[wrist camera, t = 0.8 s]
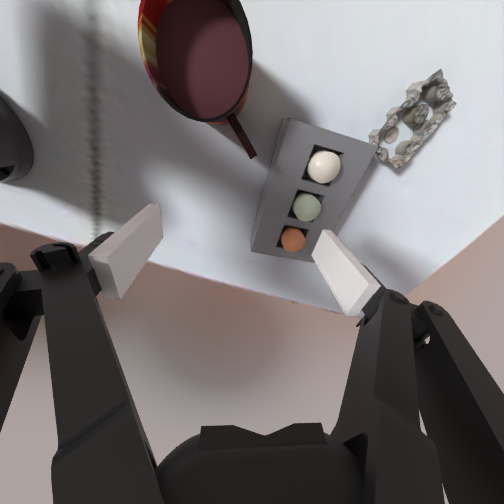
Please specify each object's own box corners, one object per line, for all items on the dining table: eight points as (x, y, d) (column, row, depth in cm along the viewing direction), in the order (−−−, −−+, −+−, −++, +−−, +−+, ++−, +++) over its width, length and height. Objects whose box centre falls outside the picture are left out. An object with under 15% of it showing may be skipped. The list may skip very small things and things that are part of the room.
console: (250, 239, 40) (251, 251, 36) (282, 119, 29) (290, 117, 24) (308, 249, 43) (315, 262, 39) (360, 144, 31) (378, 146, 27)
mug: (250, 153, 31) (255, 164, 21) (169, 97, 26) (126, 77, 16) (284, 89, 27) (311, 66, 17) (194, 9, 22) (157, -90, 12)
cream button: (301, 175, 30) (307, 179, 28) (311, 146, 28) (319, 148, 25) (324, 181, 31) (332, 186, 28) (336, 154, 29) (345, 156, 26)
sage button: (287, 211, 34) (291, 218, 31) (296, 189, 31) (301, 194, 29) (308, 216, 34) (314, 223, 32) (318, 194, 32) (325, 200, 30)
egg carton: (381, 168, 34) (397, 172, 30) (358, 139, 31) (372, 140, 28) (442, 110, 29) (468, 108, 26) (421, 70, 26) (447, 61, 23)
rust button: (276, 241, 37) (279, 250, 34) (283, 222, 35) (287, 230, 32) (296, 245, 38) (300, 253, 35) (303, 227, 36) (309, 235, 33)
